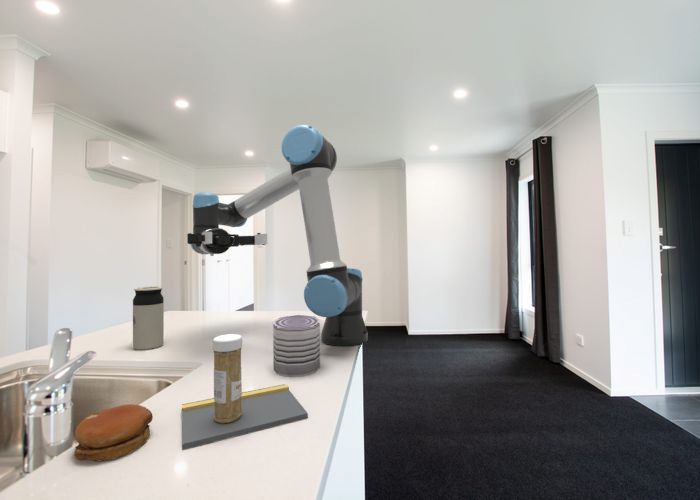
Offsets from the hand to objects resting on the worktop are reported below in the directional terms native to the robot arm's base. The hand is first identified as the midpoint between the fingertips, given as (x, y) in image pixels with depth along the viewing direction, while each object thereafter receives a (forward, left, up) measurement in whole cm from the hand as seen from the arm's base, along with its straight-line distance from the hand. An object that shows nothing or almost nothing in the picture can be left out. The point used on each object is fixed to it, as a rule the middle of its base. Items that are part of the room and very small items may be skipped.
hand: (239, 238), depth 80 cm
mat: (+3, +23, -32) cm, 40 cm away
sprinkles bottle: (+6, +25, -31) cm, 41 cm away
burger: (+22, +24, -32) cm, 46 cm away
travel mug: (+22, -34, -32) cm, 51 cm away
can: (-12, +6, -32) cm, 35 cm away
